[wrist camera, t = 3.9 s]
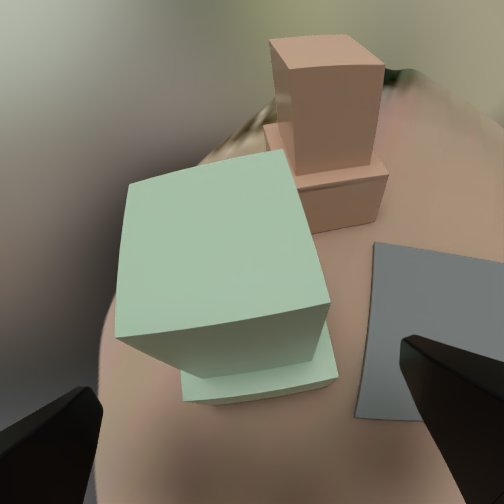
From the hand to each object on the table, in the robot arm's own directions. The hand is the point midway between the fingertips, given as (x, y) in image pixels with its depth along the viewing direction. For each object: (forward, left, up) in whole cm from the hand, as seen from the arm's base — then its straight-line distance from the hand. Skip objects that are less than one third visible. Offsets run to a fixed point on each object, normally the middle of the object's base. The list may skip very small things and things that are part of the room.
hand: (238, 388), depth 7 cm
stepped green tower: (+3, -2, -11) cm, 11 cm away
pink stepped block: (+7, -14, -11) cm, 19 cm away
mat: (-7, -10, -11) cm, 16 cm away
